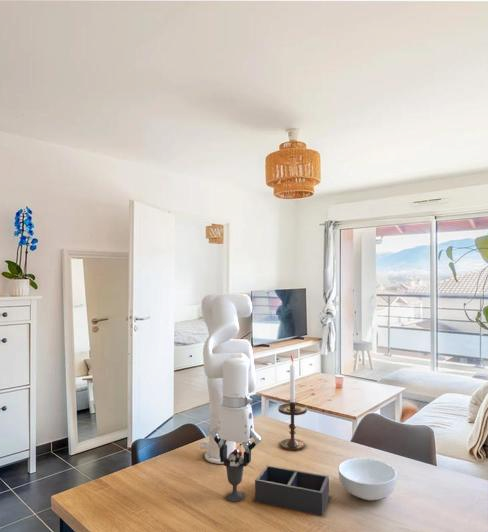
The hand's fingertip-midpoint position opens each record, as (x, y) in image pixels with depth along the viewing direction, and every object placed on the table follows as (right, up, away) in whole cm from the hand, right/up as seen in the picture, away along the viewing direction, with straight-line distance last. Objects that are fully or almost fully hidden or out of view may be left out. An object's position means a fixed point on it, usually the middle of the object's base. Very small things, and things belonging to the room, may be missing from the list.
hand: (235, 461), depth 118 cm
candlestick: (+20, -12, +36) cm, 43 cm away
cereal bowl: (+39, -10, +2) cm, 41 cm away
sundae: (0, -10, 0) cm, 10 cm away
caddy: (+17, -10, -1) cm, 20 cm away
